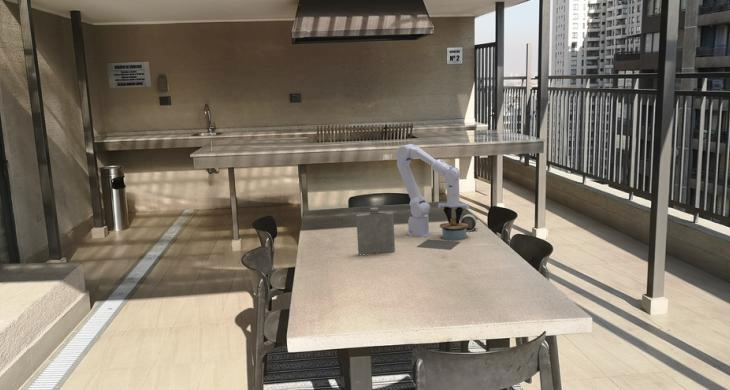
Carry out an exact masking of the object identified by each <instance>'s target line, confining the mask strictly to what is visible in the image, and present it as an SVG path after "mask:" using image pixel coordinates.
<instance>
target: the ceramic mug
mask: <svg viewBox="0 0 730 390" xmlns="http://www.w3.org/2000/svg"><path fill="white" fill-rule="evenodd" d="M459 223H465V224H468V227H467V228H466V232H471V231H473V230H475V228H476V226H477V219H476V216H474V215H473V214H465V215H464V216H462V218H460V221H459Z"/></svg>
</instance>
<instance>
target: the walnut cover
mask: <svg viewBox="0 0 730 390" xmlns="http://www.w3.org/2000/svg"><path fill="white" fill-rule="evenodd" d="M467 227H468V224H465V223H460V222H459V224H456V217H451V218H450V223H449V222H446V223H443V222H442V223H440V224H439V228H440V229H442V228H443V229H464V228H467Z"/></svg>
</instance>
